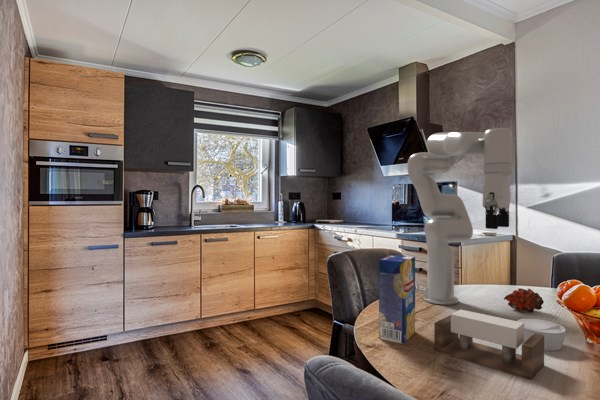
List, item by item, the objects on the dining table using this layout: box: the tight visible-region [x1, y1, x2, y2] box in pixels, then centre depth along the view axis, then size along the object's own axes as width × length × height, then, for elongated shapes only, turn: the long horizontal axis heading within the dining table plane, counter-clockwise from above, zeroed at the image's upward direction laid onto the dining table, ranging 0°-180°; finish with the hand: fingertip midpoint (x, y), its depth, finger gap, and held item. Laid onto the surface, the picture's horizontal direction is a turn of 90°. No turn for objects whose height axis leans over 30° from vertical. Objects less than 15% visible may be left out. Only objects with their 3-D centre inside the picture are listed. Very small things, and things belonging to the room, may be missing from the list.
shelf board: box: [450, 308, 524, 350], centre depth 92 cm, size 15×6×4 cm, turn 44°
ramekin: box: [517, 318, 567, 352], centre depth 100 cm, size 11×11×5 cm
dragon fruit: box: [503, 288, 545, 313], centre depth 130 cm, size 8×8×12 cm
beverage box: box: [378, 254, 416, 345], centre depth 106 cm, size 7×11×22 cm, turn 147°
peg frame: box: [433, 314, 545, 381], centre depth 92 cm, size 22×10×7 cm, turn 44°
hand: (497, 227), depth 111 cm, fingers open, 9 cm apart
